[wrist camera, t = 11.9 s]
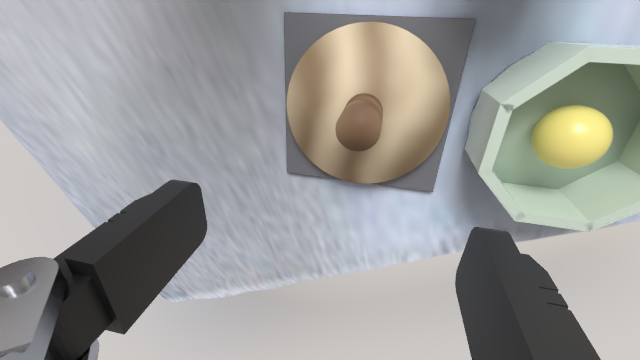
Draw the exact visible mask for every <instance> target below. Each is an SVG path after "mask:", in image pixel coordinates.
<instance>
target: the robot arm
mask: <svg viewBox="0 0 640 360" xmlns="http://www.w3.org/2000/svg"><path fill="white" fill-rule="evenodd" d="M206 231H207V220H206V215H205V209H204V203H203V198H202V192H201V188H200V186H199V185H198V184H197V183H192V182H185V181H179V180H170V181H168V182H167V183H166V184H164V185H163V186H161V187H160V188H159V189H157V190H156V191H155V192H153V193H152V194H149V195H147V196H145V197H142V198H140V199H138V200H135V201H134V202H132V203H131V204H130V205H128V206H127V207H125V208H124V209H123V210H121V211H120V214H119V213H117V214H116V215H114V216H113V217H111V218H110V219H109V220H108V222H107V223H106V222H104V223H103V224H102V225H100V226H99V227H97V228H96V229H95V230H93V231H92V232H90V233H89V234H88V235H86V236H85V237H83V238H82V239H81V240H79V241H78V242H76V243H75V244H74V245H72V246H71V247H69V248H68V249H67V250H65V251H64V252H62V253H61V254H60V255H58V256H57V257H55V258H54V259H51V258H47V257H35V258H29V259H24V260H20V261H17V262H14V263H11V264H9V265H6V266H4V267H2V268H0V360H97V358H98V352H99V342H98V340H97V338H98V337H99V336H100V335H101V334H102V333H103V332H104V330H109V331H112V332H116V333H121V334H125V333H126V332H127V331H128V329H129V328H130V327H131V326H132V325H133V324H134V322H135V321H136V320H137V319H138V318H139V317H140V315H141V314H142V313H143V312H144V311H145V309H146V308H147V307H148V306H149V305H150V304H151V302H152V301H153V300H154V299H155V298H156V296H157V295H158V294H159V293H160V292H161V291H162V289H163V288H164V287H165V286H166V285H167V283H168V282H169V281H170V280H171V279H172V277H173V276H174V275H175V274H176V273H177V272H178V270H179V269H180V268H181V267H182V266H183V264H184V263H185V262H186V261H187V260H188V258H189V257H190V256H191V255H192V254H193V253H194V251H195V250H196V249H197V248H198V247H199V245H200V244H201V243H202V242H203V240H204V238H205V235H206ZM455 285H456V293H457V297H458V302H459V306H460V310H461V314H462V318H463V323H464V327H465V331H466V336H467V340H468V344H469V349H470V353H471V357H472V360H600V358H599V356H598V355H597V353H596V351H595V349H594V348H593V346H592V345H591V343H590V341H589V340H588V338H587V336H586V335H585V333H584V331H583V330H582V328H581V327H580V325H579V323H578V322H577V320H576V318H575V317H574V315H573V313H572V312H571V311H570V310H568V305H567V304H566V302H565V300H564V299H563V297H562V295H561V294H558V289H557V287H556V285H555V284H554V282H553V281H552V279H551V277H550V276H549V274H548V272H547V271H546V270H545V269H544V268H543V267H541V266H540V265H539V264H538V263H537V262H536V261H535V260H534V259H533V258H532V257H530V256H529V255H526V254H520V252H519V250H518V248H517V247H516V245H515V243H514V241H513V239H512V237H511V235H510V234H509V233H508V232H506V231H500V230H493V229H487V228H480V227H474V228H473V229H472V231H471V233H470V236H469V238H468V241H467V244H466V247H465V249H464V252H463V255H462V257H461V260H460V263H459V266H458V269H457V273H456V282H455Z"/></svg>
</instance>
